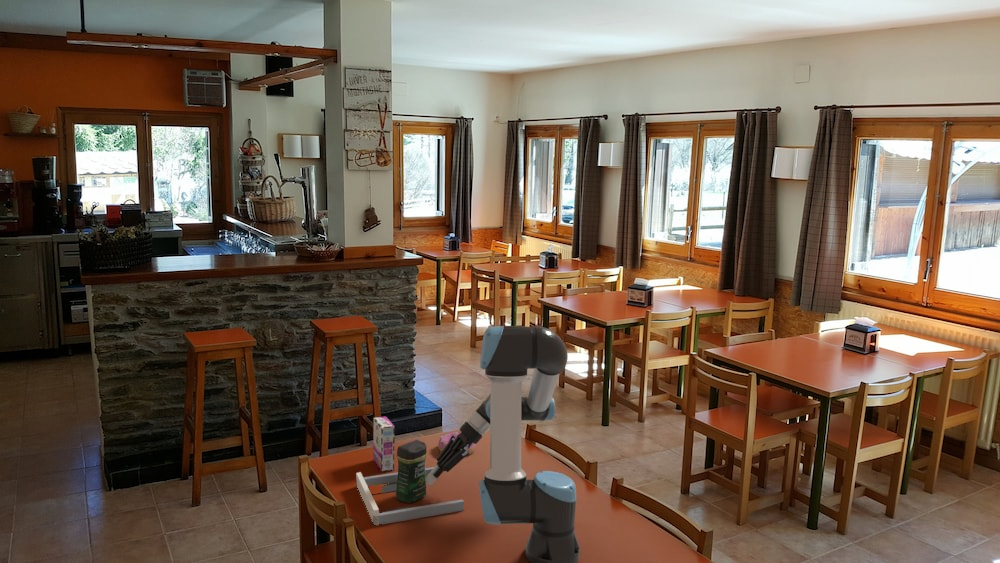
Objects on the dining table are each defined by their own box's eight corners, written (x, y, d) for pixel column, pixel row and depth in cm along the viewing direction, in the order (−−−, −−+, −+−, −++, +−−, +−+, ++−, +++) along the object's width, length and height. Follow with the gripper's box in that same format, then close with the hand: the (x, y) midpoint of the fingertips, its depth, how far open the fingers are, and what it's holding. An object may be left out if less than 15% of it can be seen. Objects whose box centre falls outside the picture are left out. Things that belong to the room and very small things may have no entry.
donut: (447, 461, 264) (448, 448, 263) (432, 447, 276) (432, 434, 275) (482, 454, 270) (483, 441, 269) (466, 440, 283) (466, 428, 282)
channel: (463, 510, 228) (464, 495, 227) (374, 525, 217) (373, 510, 216) (438, 474, 252) (438, 461, 251) (356, 486, 242) (356, 472, 241)
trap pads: (416, 516, 223) (416, 515, 223) (384, 521, 220) (384, 520, 220) (397, 482, 245) (397, 482, 245) (367, 487, 241) (367, 486, 241)
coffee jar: (409, 506, 229) (409, 451, 226) (392, 498, 234) (392, 444, 231) (430, 495, 237) (431, 442, 233) (413, 488, 241) (413, 435, 238)
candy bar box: (395, 470, 255) (395, 426, 252) (381, 472, 252) (381, 428, 250) (386, 458, 265) (386, 415, 262) (372, 460, 262) (372, 417, 260)
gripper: (489, 441, 236) (440, 497, 233) (476, 427, 248) (429, 480, 245) (474, 428, 233) (424, 485, 230) (461, 414, 245) (413, 468, 242)
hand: (427, 482), depth 238 cm, fingers closed
